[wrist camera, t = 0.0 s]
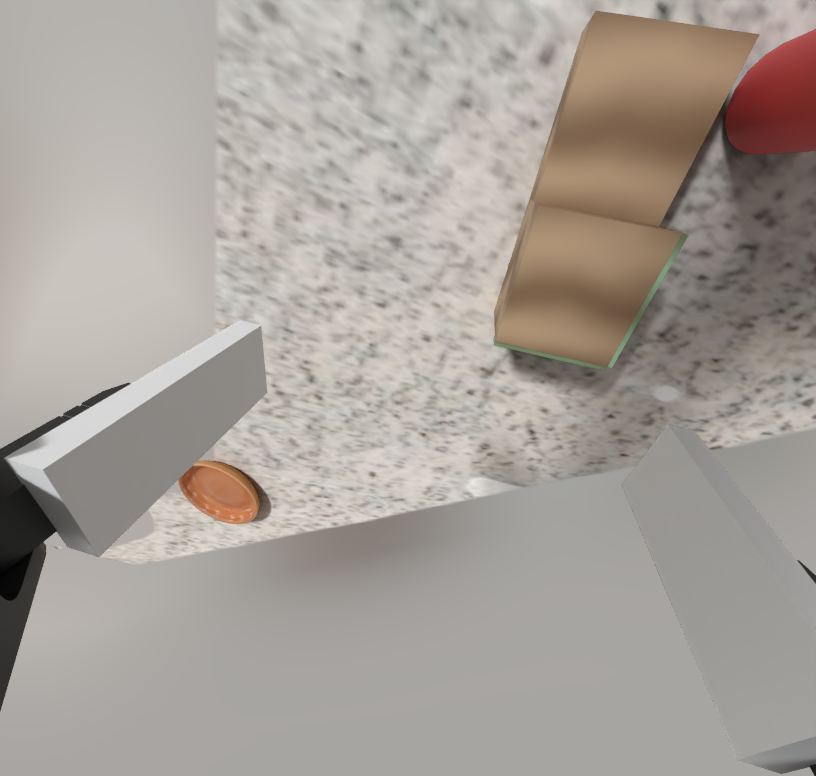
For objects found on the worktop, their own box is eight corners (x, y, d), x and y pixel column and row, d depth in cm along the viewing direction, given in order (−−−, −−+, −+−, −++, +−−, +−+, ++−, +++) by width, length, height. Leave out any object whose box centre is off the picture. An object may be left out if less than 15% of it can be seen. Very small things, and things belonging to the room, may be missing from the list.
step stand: (582, 32, 25) (614, -19, 19) (729, 54, 24) (819, 9, 18) (493, 315, 38) (493, 345, 31) (588, 336, 37) (609, 372, 30)
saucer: (197, 439, 60) (185, 451, 58) (276, 485, 63) (267, 497, 60) (182, 484, 69) (171, 496, 67) (252, 522, 71) (243, 535, 69)
